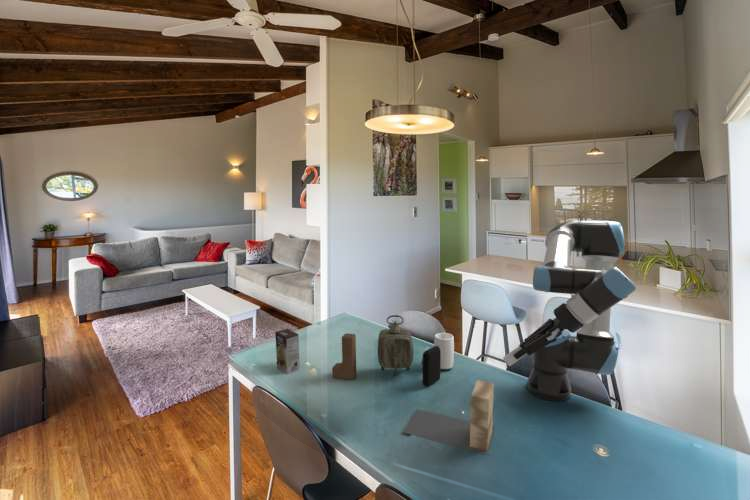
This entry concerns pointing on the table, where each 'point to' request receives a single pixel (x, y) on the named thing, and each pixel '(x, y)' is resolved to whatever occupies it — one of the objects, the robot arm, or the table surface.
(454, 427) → the mat
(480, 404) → the slab
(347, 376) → the wooden block
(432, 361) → the carrying case or bag
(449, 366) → the cup
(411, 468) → the table surface
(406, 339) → the tabletop clock
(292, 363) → the coffee box
